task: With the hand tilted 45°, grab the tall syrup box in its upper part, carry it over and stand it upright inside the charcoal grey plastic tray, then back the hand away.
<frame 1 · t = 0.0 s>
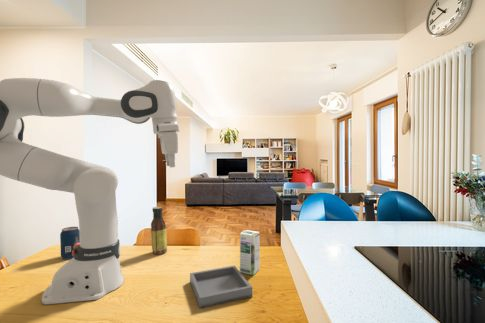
hand: (170, 166, 93), 39 cm above the table, tool pointing down, fingers open, 8 cm apart
syrup box: (249, 271, 96), on the table
tray: (219, 288, 83), on the table
sauce bottle: (159, 252, 114), on the table
soda can: (70, 257, 109), on the table
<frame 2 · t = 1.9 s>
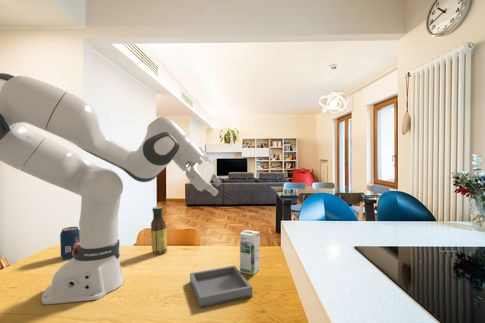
hand: (218, 189, 88), 31 cm above the table, tool tilted 40°, fingers open, 8 cm apart
nothing on the table moved.
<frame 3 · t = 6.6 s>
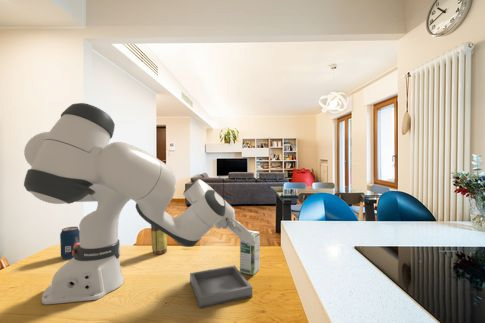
hand: (248, 239, 95), 12 cm above the table, tool tilted 45°, fingers open, 8 cm apart
syrup box: (249, 271, 96), on the table, touching gripper
everything else where it was.
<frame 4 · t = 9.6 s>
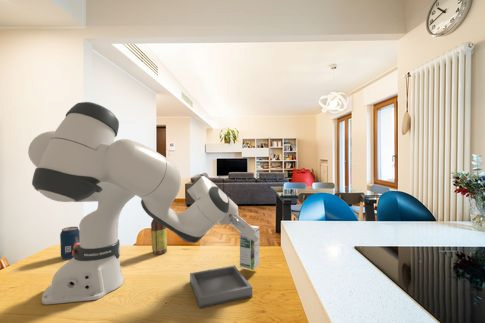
hand: (251, 236, 96), 13 cm above the table, tool tilted 45°, fingers closed on syrup box, 8 cm apart
syrup box: (249, 266, 96), point 2 cm above the table, touching gripper
everything else where it was.
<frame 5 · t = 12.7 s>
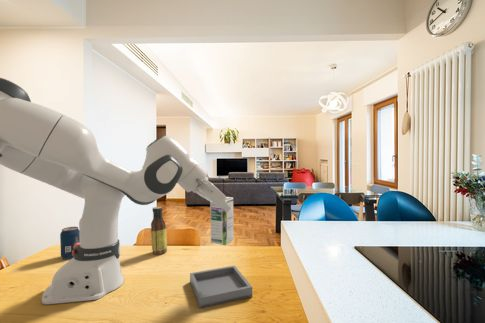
hand: (223, 207, 84), 26 cm above the table, tool tilted 45°, fingers closed on syrup box, 8 cm apart
syrup box: (222, 242, 85), point 15 cm above the table, touching gripper
everything else where it was.
when the fingers open (13 cm above the table, at t = 17.2 s): syrup box stays where it is, resting on tray.
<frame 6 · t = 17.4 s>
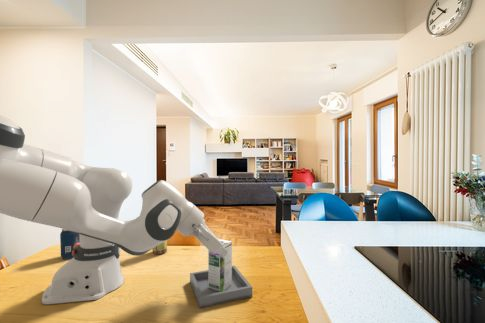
hand: (221, 248, 83), 13 cm above the table, tool tilted 45°, fingers open, 8 cm apart
syrup box: (220, 286, 83), point 1 cm above the table, touching gripper, tray
everything else where it was.
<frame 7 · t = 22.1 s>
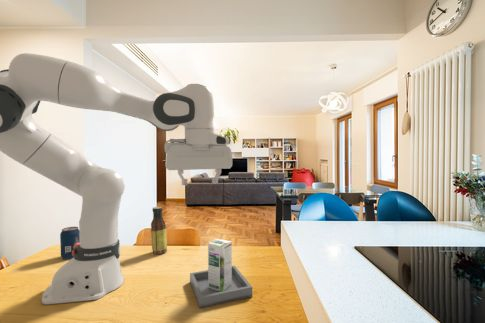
hand: (200, 184, 80), 34 cm above the table, tool pointing down, fingers open, 8 cm apart
syrup box: (220, 286, 83), point 1 cm above the table, touching tray
everything else where it was.
at the end: syrup box inside the target area on the tray (0.2 cm from its centre), point 0.6 cm above the tray's base; syrup box tilted 0°; the gripper is holding nothing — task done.
